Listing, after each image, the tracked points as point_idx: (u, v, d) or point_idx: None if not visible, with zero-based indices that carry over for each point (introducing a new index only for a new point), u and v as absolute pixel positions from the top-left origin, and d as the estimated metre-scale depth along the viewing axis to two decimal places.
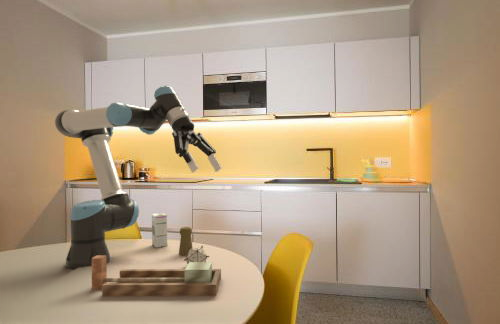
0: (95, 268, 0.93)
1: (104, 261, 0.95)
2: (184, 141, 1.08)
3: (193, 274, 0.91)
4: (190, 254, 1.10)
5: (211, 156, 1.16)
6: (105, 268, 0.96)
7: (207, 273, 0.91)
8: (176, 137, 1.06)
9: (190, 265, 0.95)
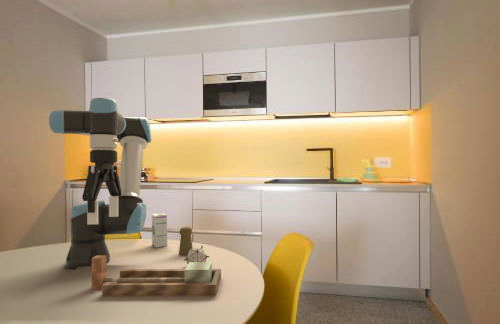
0: (95, 268, 0.93)
1: (104, 261, 0.95)
2: (97, 182, 0.91)
3: (193, 274, 0.91)
4: (190, 254, 1.10)
5: (114, 198, 1.02)
6: (105, 268, 0.96)
7: (207, 273, 0.91)
8: (92, 176, 0.88)
9: (190, 265, 0.95)
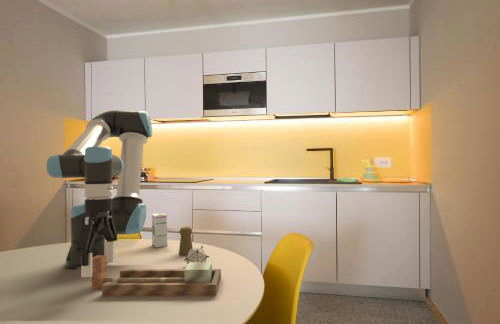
0: (95, 268, 0.93)
1: (104, 261, 0.95)
2: (92, 232, 0.90)
3: (193, 274, 0.91)
4: (190, 254, 1.10)
5: (109, 244, 1.01)
6: (105, 268, 0.96)
7: (207, 273, 0.91)
8: (86, 229, 0.87)
9: (190, 265, 0.95)
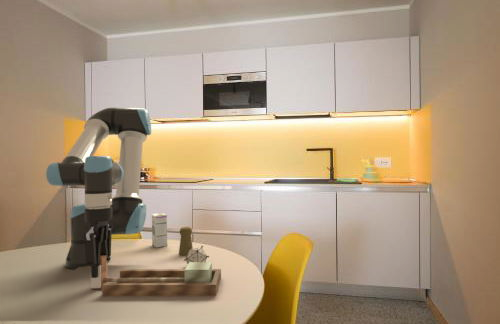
0: None
1: (104, 261, 0.95)
2: (96, 245, 0.92)
3: (193, 274, 0.91)
4: (190, 254, 1.10)
5: None
6: (105, 268, 0.96)
7: (207, 273, 0.91)
8: (89, 244, 0.89)
9: (190, 265, 0.95)
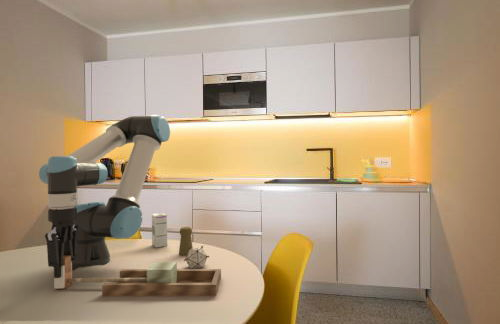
0: None
1: (68, 261, 0.95)
2: (59, 245, 0.92)
3: (155, 274, 0.91)
4: (190, 254, 1.10)
5: None
6: (69, 268, 0.96)
7: (169, 273, 0.91)
8: (51, 245, 0.89)
9: (154, 265, 0.95)
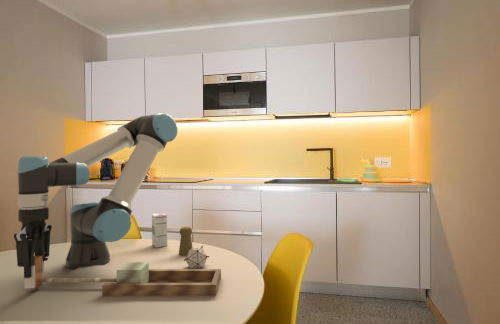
0: None
1: (39, 261, 0.95)
2: (29, 245, 0.93)
3: (125, 274, 0.91)
4: (190, 254, 1.10)
5: None
6: (41, 269, 0.96)
7: (139, 273, 0.91)
8: (20, 245, 0.89)
9: (125, 265, 0.95)
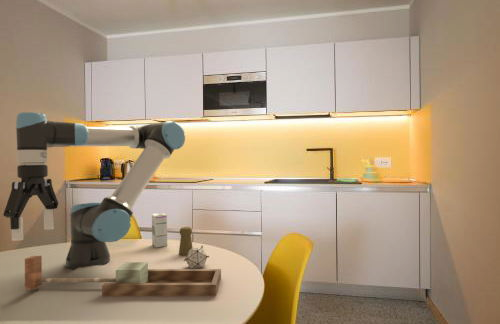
0: (28, 268, 0.94)
1: (38, 261, 0.95)
2: (23, 197, 0.91)
3: (124, 274, 0.91)
4: (190, 254, 1.10)
5: (48, 211, 1.02)
6: (40, 269, 0.96)
7: (138, 273, 0.91)
8: (15, 193, 0.88)
9: (124, 265, 0.95)
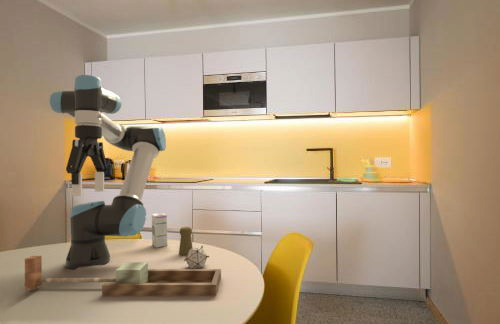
0: (28, 268, 0.94)
1: (38, 261, 0.95)
2: (81, 155, 0.94)
3: (124, 274, 0.91)
4: (190, 254, 1.10)
5: (100, 174, 1.05)
6: (40, 269, 0.96)
7: (138, 273, 0.91)
8: (75, 150, 0.92)
9: (124, 265, 0.95)
